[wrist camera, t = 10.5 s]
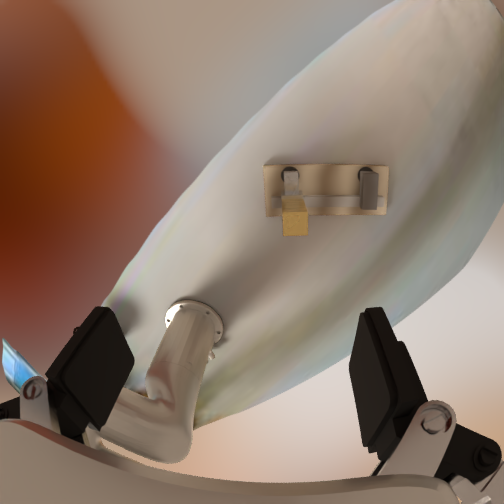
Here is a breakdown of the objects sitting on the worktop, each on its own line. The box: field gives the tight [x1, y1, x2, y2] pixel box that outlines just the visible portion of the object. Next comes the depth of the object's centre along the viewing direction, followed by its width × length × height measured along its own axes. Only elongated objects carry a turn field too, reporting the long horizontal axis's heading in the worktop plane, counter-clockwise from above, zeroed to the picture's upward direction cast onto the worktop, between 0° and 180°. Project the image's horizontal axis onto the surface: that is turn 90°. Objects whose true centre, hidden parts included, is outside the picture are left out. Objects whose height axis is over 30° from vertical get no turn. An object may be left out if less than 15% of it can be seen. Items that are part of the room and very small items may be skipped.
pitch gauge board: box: [263, 164, 389, 217], centre depth 41 cm, size 20×8×4 cm, turn 94°
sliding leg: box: [281, 171, 308, 236], centre depth 37 cm, size 3×7×10 cm, turn 4°
